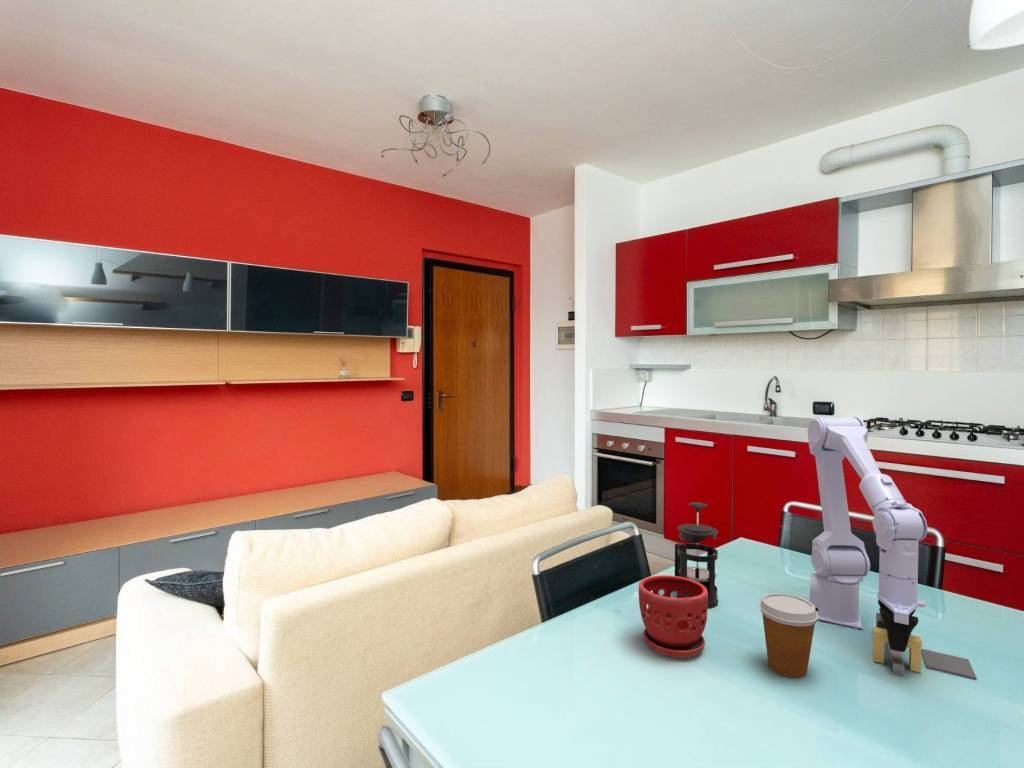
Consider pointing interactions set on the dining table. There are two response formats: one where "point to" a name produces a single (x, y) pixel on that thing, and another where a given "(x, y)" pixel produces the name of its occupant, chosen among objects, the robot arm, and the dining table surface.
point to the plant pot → (673, 615)
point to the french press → (701, 575)
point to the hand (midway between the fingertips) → (896, 646)
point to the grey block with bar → (892, 651)
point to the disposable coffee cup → (788, 632)
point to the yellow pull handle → (913, 645)
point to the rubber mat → (948, 664)
